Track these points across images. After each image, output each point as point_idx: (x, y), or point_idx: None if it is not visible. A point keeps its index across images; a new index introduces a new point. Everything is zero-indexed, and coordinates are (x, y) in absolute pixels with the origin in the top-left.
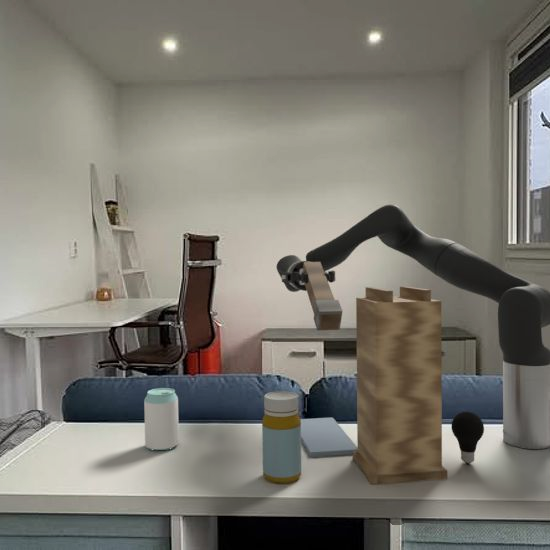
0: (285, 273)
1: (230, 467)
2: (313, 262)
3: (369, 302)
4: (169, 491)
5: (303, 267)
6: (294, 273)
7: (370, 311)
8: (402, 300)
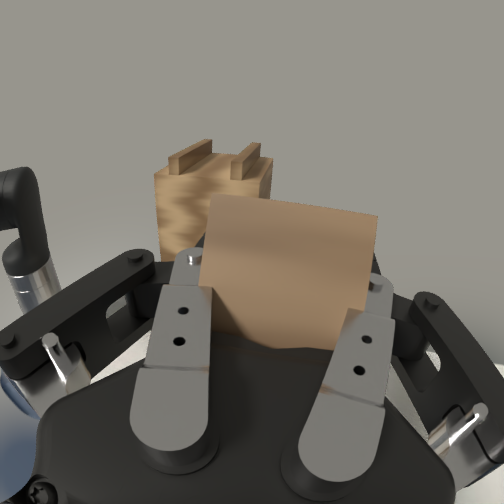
0: (491, 376)
1: (389, 392)
2: (281, 203)
3: (269, 166)
4: (431, 357)
5: (367, 270)
6: (420, 297)
7: (269, 176)
8: (225, 158)
